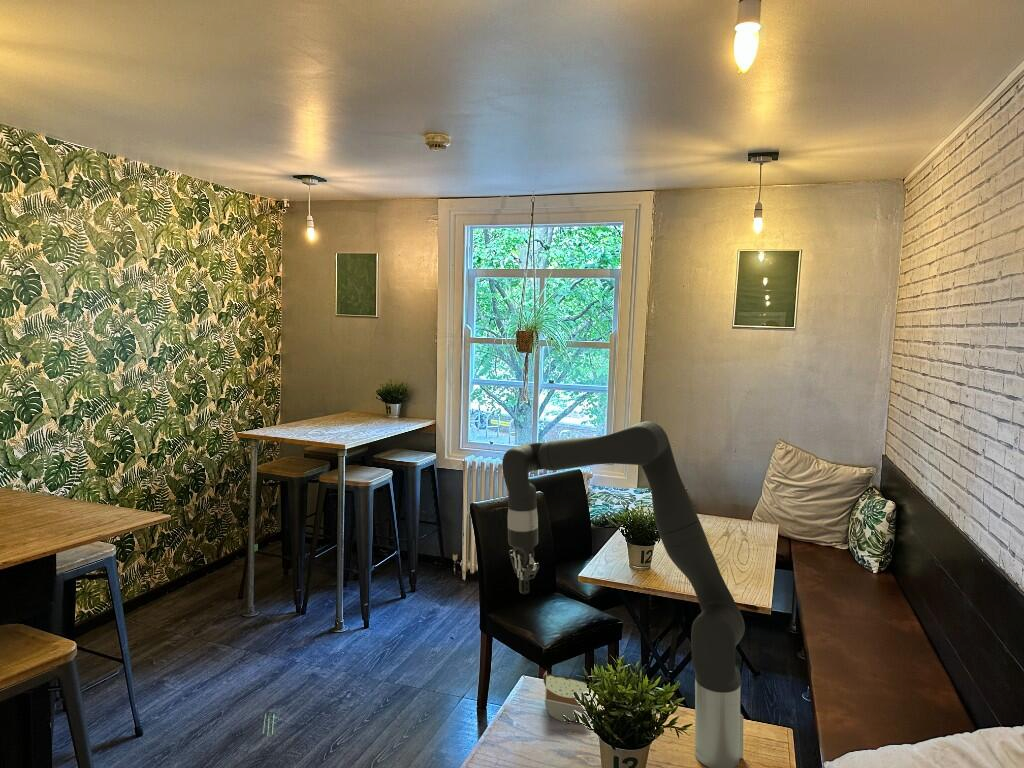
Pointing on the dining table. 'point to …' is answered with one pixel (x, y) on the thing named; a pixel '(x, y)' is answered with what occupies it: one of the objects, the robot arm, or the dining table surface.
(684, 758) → the dining table surface
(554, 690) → the food container
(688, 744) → the dining table surface
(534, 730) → the dining table surface
